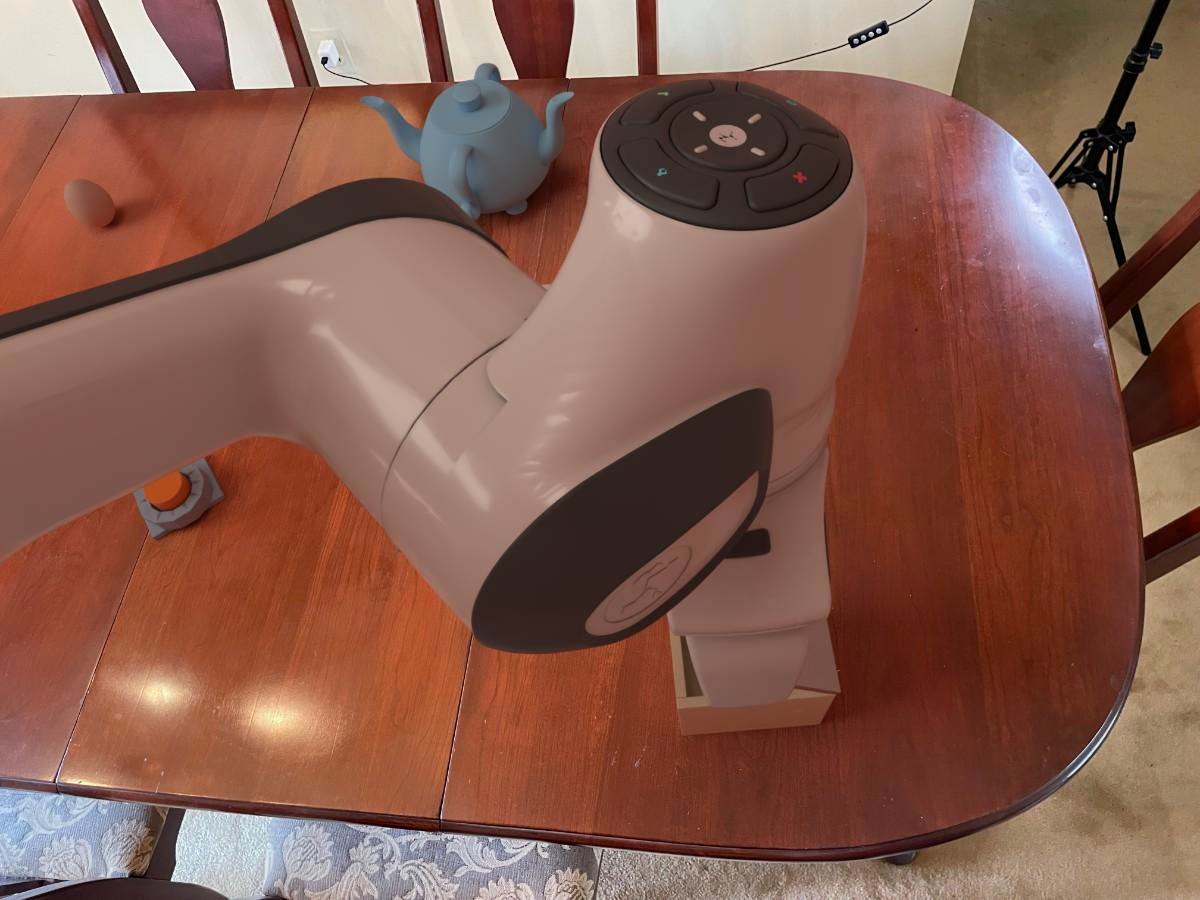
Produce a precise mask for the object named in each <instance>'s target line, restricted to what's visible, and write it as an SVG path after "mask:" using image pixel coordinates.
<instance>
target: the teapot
mask: <svg viewBox="0 0 1200 900" xmlns="http://www.w3.org/2000/svg"><path fill="white" fill-rule="evenodd" d="M574 95H575V92H573V91H566V92H561V93H558V94H556V95H554V96H552V97H551V98H550V99H549V101H548V103H547V105H546V108H545V121H546V127H545V126H544V123H543V122H542V120H541V119H540V117H539V116H538V115H537V113H536V111H535V110H534V109H533V108H532V107H531V106H530V105H529V104H528V103H527V102H526V101H525V100H524V99H523V98H522V97H521V96H519V95H518V94H517V93H515V92H514V91H513V90H511V89H510V88H509V87H507V86H505V85H504V84H503V82H502V76H501V72H500V69H499V67H498V66H497V65H496V64H494V63H492V62H484V63H483V62H482V63H481V64H479V65H478V66H477V67H476V70H475V73H474V75H473V78H472V79H466V80H463V81H460V82H457V83H455V84H452V85H451V86H449V87H447V88H446V89H445V90H443V91H442V92H441V93H440V94H439V95H438V96H437V97H436V98H435V100H434V101H433V102H432V105H431V107H430V109H429V111H428V113H427V117H426V119H425V122H424V124H423V128H419V127H416V126H414V125H412V124H411V123H409V122H408V121H407V120H406V119H405V118H404V116H403V115H402V114H401V113H400V111H399V110H398V108H397V107H395V105H394V104H392V103H391V102H389V101H388V100H386V99H385V98H382V97H379V96H374V95H364V96H361V97H360V98H359V101H360V103H362V104H363V105H365V106H366V107H369V108H370V109H372V110H375V111H376V112H377V113H378V114H379V115H381V118H383V120H384V121H385V122H386V124H387V126H388V127H389V130H390V132H391V134H392V137H393V139H394V141H395V142H396V144H397V146H398V148H399V149H400V151H401V152H402V153H403V154H404V155H405V156H406V157H407V158H408V159H410V160H412V161H413V162H415V163H417V164H418V165H420V168H421V169H420V171H421V175H422V177H423V180H424V181H423V182H424V184H426V185H428V186H431V187H433V188H435V189H437V190H439V191H441V192H442V193H444V194H446V195H447V196H448V197H450V198H451V199H452V200H453V201H455V202H456V203H457V204H458V205H459V206H460V207H461V208H462V210H463V211H465V212H466V213H467V214H468V215H469V216H470V217H471V218H472V219H473V220H474V221H475V222H477V221H478V220H479V218H480V216H481V215H484V214H496V213H500V212H503V211H505V212H506V213H507V214H509V215H514V216H515V215H516V216H517V215H521V214H523V213H524V212H525V211H526V210H527V208H528V201H526V200H527V199H528V198H529V197H530V196H531V195H532V194H534V192H535V191H536V190H537V189H538V188H539V187H540V186H541V184H542V183H543V181H544V180H545V178H546V177H547V175H548V173H549V170H550V167H551V163H552V162H553V161H555V160H556V158H557V157H558V156H559V155H560V153H561V151H562V149H563V146H564V143H565V128H564V127H565V126H564V121H563V116H562V115H563V114H562V111H563V110H562V109H563V107H564V106H565V104H566V103H567V102H568V101H570V100H571V99H573V97H574Z"/></svg>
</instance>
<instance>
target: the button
mask: <svg viewBox="0 0 1200 900" xmlns="http://www.w3.org/2000/svg"><path fill="white" fill-rule="evenodd" d="M190 492H191V484H190V482H189V480H188V479H187V478H186V477H185V476H183V475H182V474H181V473H180V472H179V471H176V472H174V473H172V474H170V475H168V476H166V477H163V478H161V479H159V480H157V481H155V482H153V483H151V484H149V485H147V486H145V487H144V495H145V498H146V499H147V500H148V501H149V502H150V503H152V504H153V505H154V506H156V507H157V508H159V509H161V510H166V511H167V510H173V509H176V508H178V507H179V506H181V505H182V504H183V503H184V502H185V501H186V500H187V498H188V497H189V495H190Z"/></svg>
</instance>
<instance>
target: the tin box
mask: <svg viewBox="0 0 1200 900" xmlns="http://www.w3.org/2000/svg"><path fill="white" fill-rule="evenodd" d="M668 629H669V630H668V631H669V639H670V641H669V642H670V651H671V661H672V669H673V679H674V690H675V700H676V709H677V715H678V720H679V727H680V732H681V736H682V737H683V736H684V737H685V736H697V735H708V734H723V733H734V732H744V731H745V732H747V731H757V730H771V729H783V728H793V727H805V726H808V727H809V726H819V725H820V724H821V723H822V722H823V720H824V718H825V716H826V714H827V712H828V710H829V709H830V707H831V705H832V703H833V702H834V699H835V698H836V696H837V694H834V695H831V694H825V693H819V692H813V691H806V690H800V689H794V690H793V691H792V693H791V695H790V696H789V697H788V698H787V699H786V700H785V701H783V702H781V703H778V704H773V705H766V706H758V707H749V708H730V709H720V708H714V707H712V706H710V705H709V704H708V703H707V701H706V700H705V698H704V695H703V693H702V690H701V687H700V684H699V682H698V679H697V676H696V673H695V670H694V667H693V663H692V660H691V656H690V653H689V649H688V645H687V641H686V637H685V636H676V635H674V634H673V633H672V632H671V630H670V628H669V627H668Z"/></svg>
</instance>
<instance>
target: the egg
mask: <svg viewBox="0 0 1200 900" xmlns="http://www.w3.org/2000/svg"><path fill="white" fill-rule="evenodd" d="M63 199H64V203H65V206H66V208H67V210H68V212H69V213H70V214H71V215H72V217H74V219H75V220H77V221H78V222H79V223H81V224H82V225H85V226H88V227H90V228H101V227H106V226H109V224H110V223H111V222H112V221H113V220H114V217H115V214H116V206H115V202H114V199H113V198H112V196H111V195H110V193H109V192H108V191H107V190H106V189H105V188H103V187H102V186H101V185H100V184H98V183H96V182H94V181H91V180H89V179H84V178H74V179H72V180H70V181H68V182H67V183H66V185H65V187H64V189H63Z"/></svg>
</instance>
